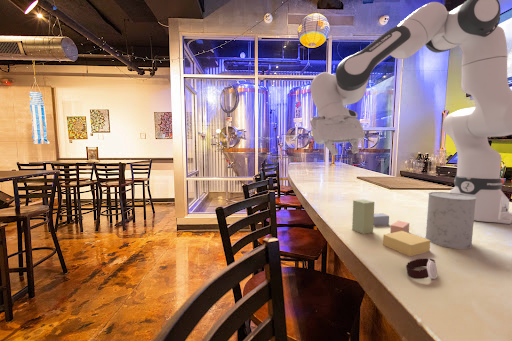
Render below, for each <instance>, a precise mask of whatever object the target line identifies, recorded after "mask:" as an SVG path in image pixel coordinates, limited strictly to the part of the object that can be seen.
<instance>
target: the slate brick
mask: <svg viewBox="0 0 512 341" xmlns="http://www.w3.org/2000/svg"><path fill="white" fill-rule="evenodd" d="M387 224H388V225H390V215H388V214H385V213H374V222H373V226H385V225H386V226H387Z"/></svg>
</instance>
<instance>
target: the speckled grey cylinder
mask: <svg viewBox="0 0 512 341" xmlns="http://www.w3.org/2000/svg"><path fill="white" fill-rule="evenodd" d="M475 202H476V197H473V196H470V195H464V194H458V193H450V192H448V191H447V192H444V191H432V192H429V193H428V203H427V213H426V230H425V231H426V232H425V237H424V238H425V239H428V240H430V243H432V244H435V245H437V246H441V247H445V248H450V249H457V250H468V249H471V248H472V247H473V235H474V222H475V220H474V213H475Z"/></svg>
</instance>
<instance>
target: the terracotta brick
mask: <svg viewBox="0 0 512 341" xmlns="http://www.w3.org/2000/svg"><path fill="white" fill-rule="evenodd" d="M399 231H404V232H407V233H410V222H406V221H401V220H397V221H395V222H394V223H392V224H390V233H394V232H399Z"/></svg>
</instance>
